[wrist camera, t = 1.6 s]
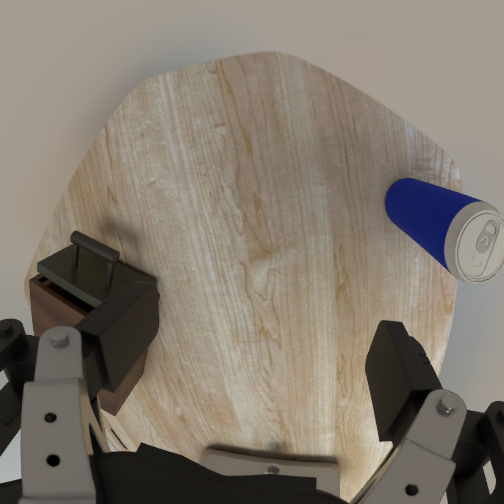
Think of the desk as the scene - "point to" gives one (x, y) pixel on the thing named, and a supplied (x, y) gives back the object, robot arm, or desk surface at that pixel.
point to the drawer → (87, 272)
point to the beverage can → (450, 228)
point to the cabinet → (68, 314)
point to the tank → (272, 468)
